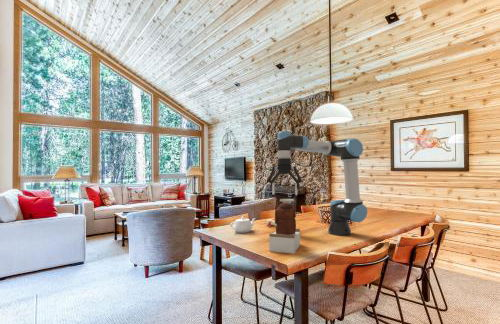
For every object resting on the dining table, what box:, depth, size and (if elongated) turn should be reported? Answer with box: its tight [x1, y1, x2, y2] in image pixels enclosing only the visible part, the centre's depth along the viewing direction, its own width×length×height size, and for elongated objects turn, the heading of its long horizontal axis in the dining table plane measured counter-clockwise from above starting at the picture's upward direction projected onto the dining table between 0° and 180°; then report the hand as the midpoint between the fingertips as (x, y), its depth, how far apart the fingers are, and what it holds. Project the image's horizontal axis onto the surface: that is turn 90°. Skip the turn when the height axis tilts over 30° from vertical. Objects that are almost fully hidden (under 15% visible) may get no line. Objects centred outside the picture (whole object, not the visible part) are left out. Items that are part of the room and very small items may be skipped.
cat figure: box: [264, 218, 277, 228], centre depth 215 cm, size 10×9×25 cm
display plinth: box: [268, 228, 301, 254], centre depth 162 cm, size 14×18×10 cm
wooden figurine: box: [274, 202, 297, 235], centre depth 162 cm, size 12×6×18 cm, turn 106°
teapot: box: [229, 216, 257, 234], centre depth 204 cm, size 22×14×11 cm, turn 124°
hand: (284, 194), depth 162 cm, fingers open, 13 cm apart
